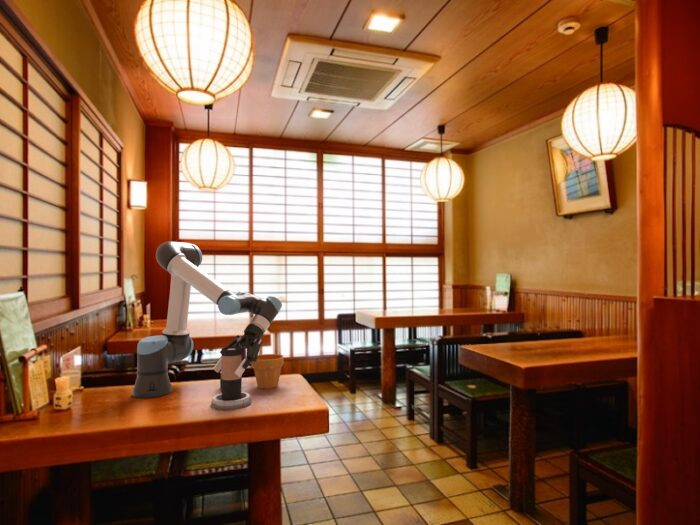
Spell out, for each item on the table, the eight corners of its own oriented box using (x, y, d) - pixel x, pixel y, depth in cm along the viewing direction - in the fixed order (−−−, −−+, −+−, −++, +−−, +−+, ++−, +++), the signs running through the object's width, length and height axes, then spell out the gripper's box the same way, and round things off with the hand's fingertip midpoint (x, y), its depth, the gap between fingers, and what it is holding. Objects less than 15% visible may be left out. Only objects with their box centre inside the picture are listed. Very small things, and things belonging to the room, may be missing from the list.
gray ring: (202, 407, 161) (202, 399, 161) (227, 396, 175) (227, 389, 175) (235, 411, 155) (235, 403, 156) (259, 400, 169) (259, 393, 170)
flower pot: (246, 385, 192) (245, 356, 192) (274, 380, 201) (274, 352, 201) (259, 392, 181) (259, 361, 181) (289, 386, 189) (289, 357, 190)
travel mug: (223, 404, 160) (223, 350, 161) (219, 399, 167) (219, 347, 168) (243, 401, 164) (243, 348, 164) (239, 396, 170) (239, 346, 171)
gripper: (282, 336, 171) (253, 383, 158) (242, 332, 186) (212, 374, 173) (272, 324, 167) (241, 371, 154) (232, 321, 181) (200, 363, 169)
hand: (226, 372), depth 164 cm, fingers open, 12 cm apart
